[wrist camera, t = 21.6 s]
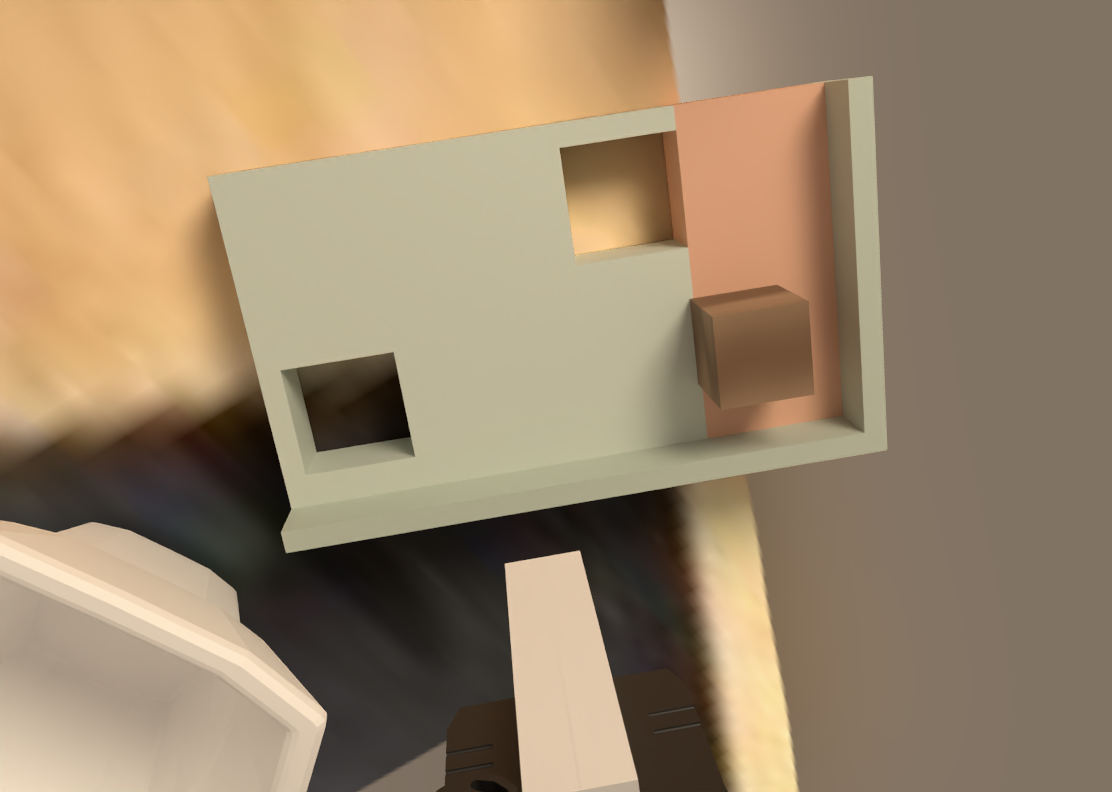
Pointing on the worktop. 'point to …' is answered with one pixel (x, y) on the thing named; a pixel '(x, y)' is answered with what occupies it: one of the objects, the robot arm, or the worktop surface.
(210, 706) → the bowl
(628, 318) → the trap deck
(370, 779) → the worktop surface
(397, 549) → the worktop surface
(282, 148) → the worktop surface
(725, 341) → the walnut block
